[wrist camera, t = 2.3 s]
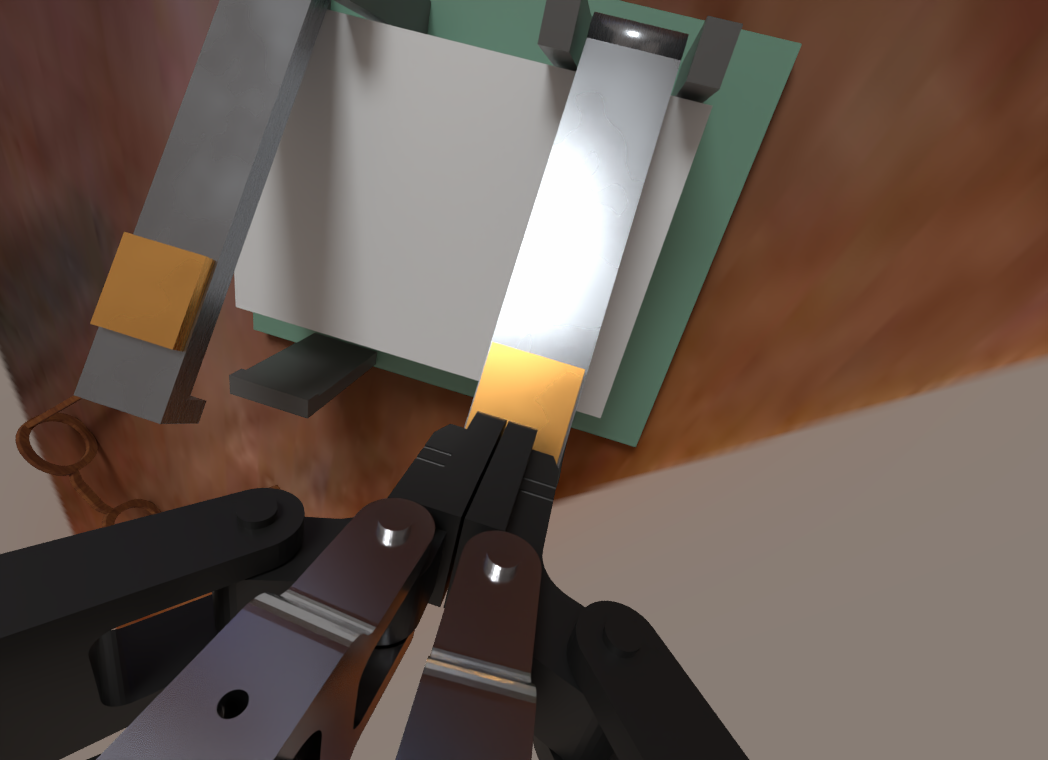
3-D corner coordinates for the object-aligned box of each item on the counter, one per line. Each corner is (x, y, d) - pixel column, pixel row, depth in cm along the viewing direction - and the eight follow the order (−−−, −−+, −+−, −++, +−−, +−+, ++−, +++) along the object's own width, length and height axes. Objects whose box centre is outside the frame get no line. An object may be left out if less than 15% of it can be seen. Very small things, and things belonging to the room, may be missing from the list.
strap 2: (592, 46, 17) (597, -5, 15) (676, 67, 16) (693, 18, 14) (448, 505, 16) (433, 517, 14) (536, 534, 15) (534, 551, 13)
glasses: (68, 403, 37) (-8, 436, 33) (170, 338, 33) (98, 365, 28) (181, 530, 41) (126, 575, 36) (286, 487, 36) (239, 533, 32)
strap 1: (275, -32, 17) (240, -89, 15) (351, -12, 17) (325, -69, 15) (120, 397, 16) (60, 394, 14) (198, 423, 16) (149, 423, 14)
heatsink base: (259, -78, 21) (74, -200, 14) (794, 49, 20) (889, -17, 12) (264, 324, 30) (151, 374, 23) (635, 438, 28) (638, 531, 21)
